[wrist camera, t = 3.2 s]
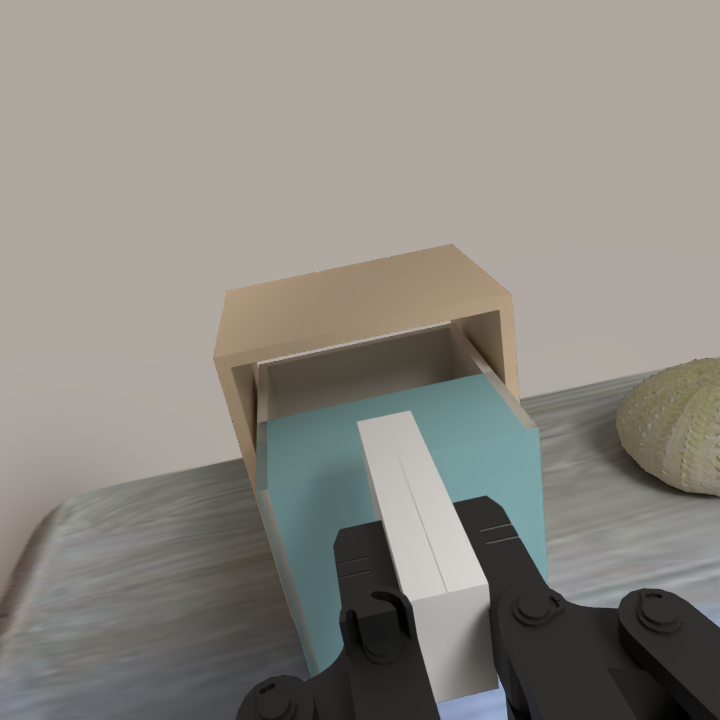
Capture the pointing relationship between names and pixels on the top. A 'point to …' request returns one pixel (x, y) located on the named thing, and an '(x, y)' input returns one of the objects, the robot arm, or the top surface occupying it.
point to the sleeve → (356, 322)
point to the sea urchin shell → (676, 426)
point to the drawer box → (346, 462)
